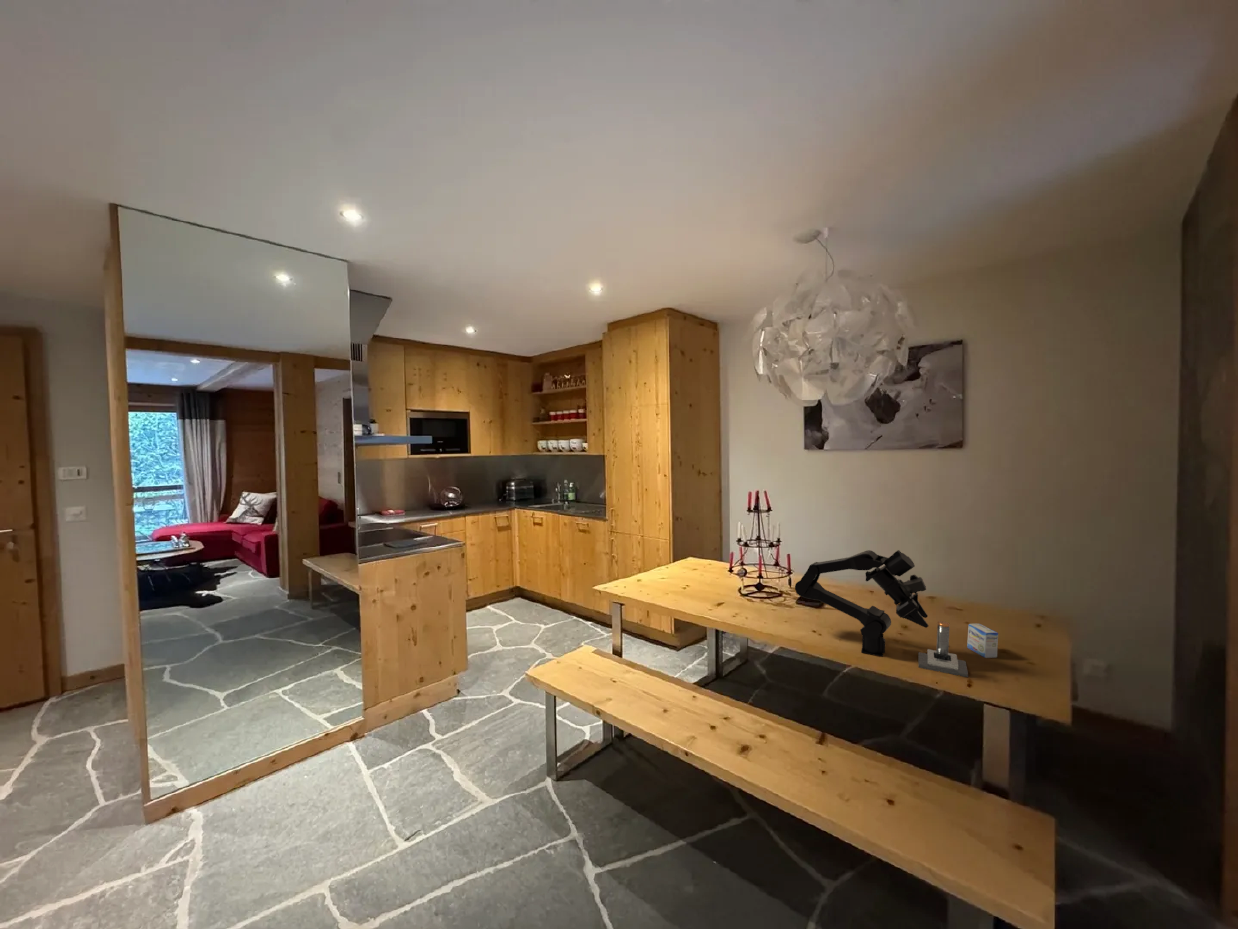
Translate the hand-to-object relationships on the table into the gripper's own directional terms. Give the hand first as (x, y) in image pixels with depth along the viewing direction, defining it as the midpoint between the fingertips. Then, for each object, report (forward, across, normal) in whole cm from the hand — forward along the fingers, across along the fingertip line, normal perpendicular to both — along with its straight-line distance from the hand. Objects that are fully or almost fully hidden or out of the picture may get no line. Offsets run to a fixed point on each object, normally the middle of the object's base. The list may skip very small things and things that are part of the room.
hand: (927, 622), depth 161 cm
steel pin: (+12, 0, +6) cm, 13 cm away
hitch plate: (+13, 0, +6) cm, 14 cm away
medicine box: (+22, +17, -2) cm, 28 cm away
